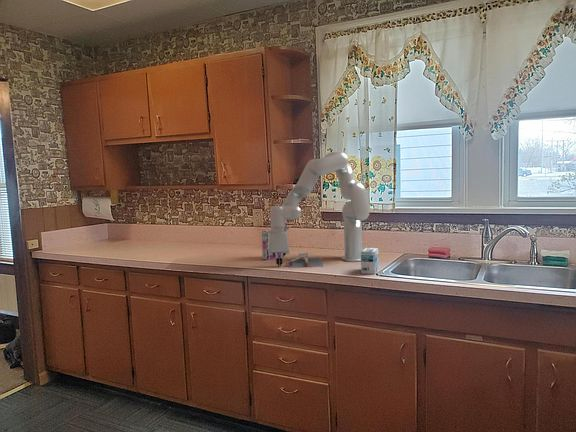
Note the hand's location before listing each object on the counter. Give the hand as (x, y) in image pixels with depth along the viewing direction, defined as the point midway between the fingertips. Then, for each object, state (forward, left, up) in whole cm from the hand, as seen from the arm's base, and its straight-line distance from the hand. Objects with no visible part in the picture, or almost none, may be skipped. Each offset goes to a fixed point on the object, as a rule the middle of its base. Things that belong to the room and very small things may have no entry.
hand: (279, 265), depth 232 cm
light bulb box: (-43, +16, -2) cm, 46 cm away
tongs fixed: (-14, -6, -1) cm, 15 cm away
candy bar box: (+4, -24, -2) cm, 25 cm away
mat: (-13, -8, -1) cm, 16 cm away
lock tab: (-13, -18, 0) cm, 22 cm away
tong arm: (-8, -6, -1) cm, 10 cm away
